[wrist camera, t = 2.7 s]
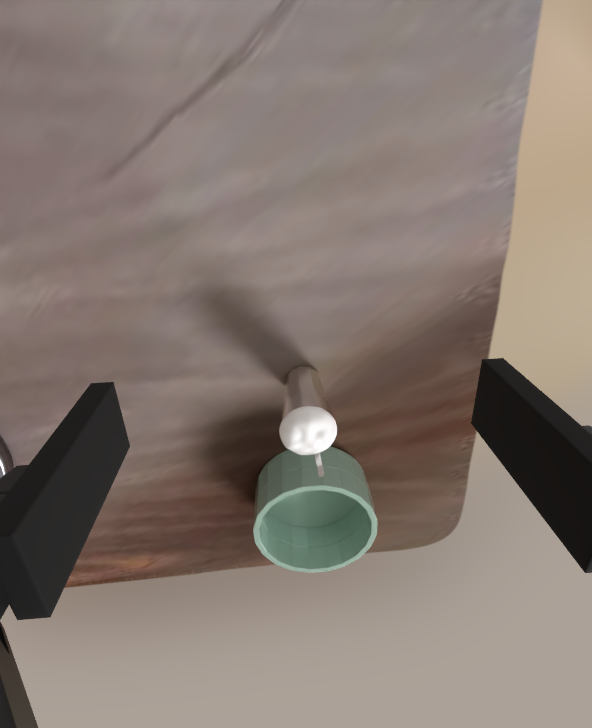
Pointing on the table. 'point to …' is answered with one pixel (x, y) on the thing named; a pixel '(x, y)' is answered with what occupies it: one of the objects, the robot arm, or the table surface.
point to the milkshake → (307, 415)
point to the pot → (313, 511)
